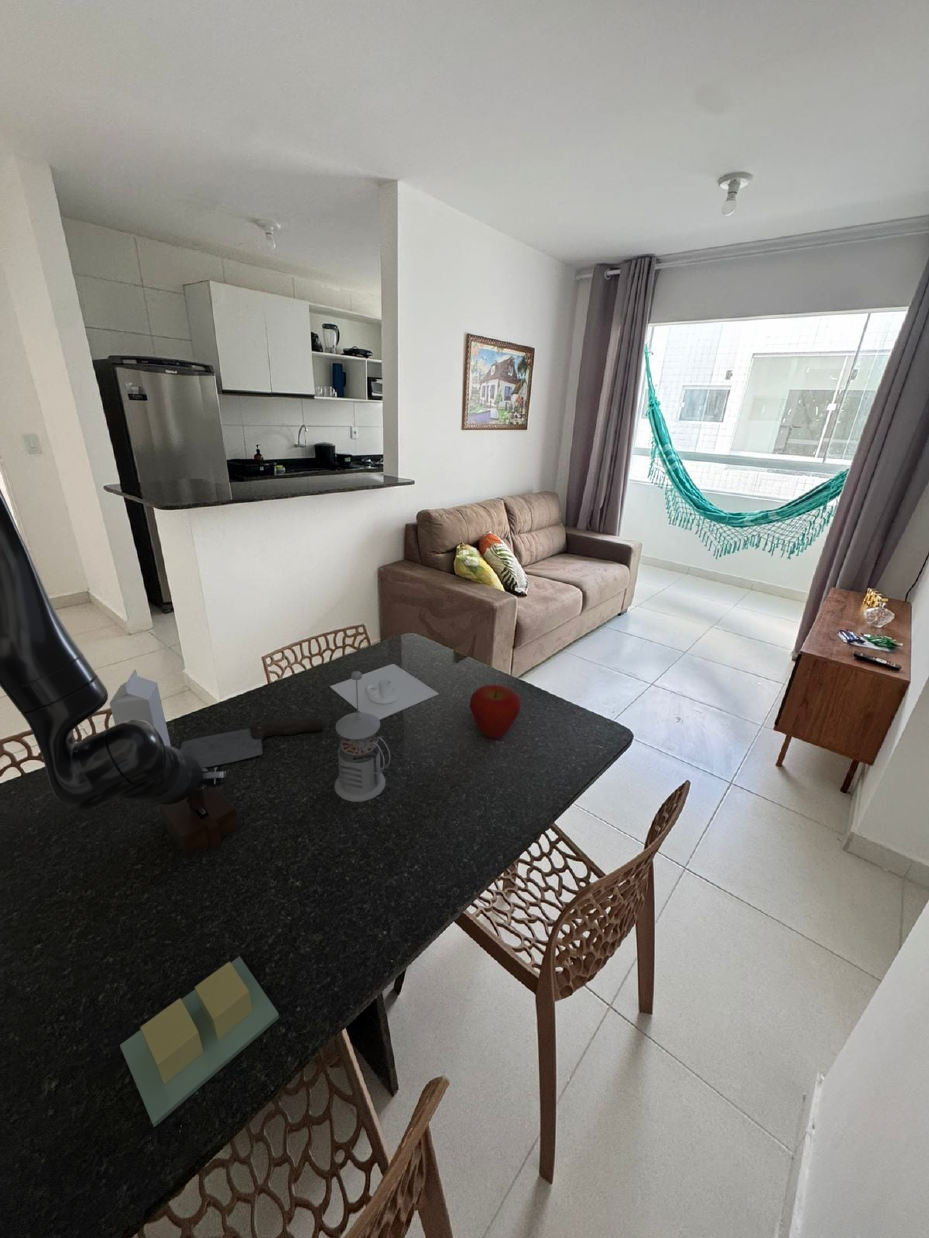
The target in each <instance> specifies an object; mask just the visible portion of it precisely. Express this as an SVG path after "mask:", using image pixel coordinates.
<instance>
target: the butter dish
mask: <svg viewBox="0 0 929 1238" xmlns="http://www.w3.org/2000/svg"><path fill="white" fill-rule="evenodd" d="M279 1019H280V1014H279V1012H278V1010H277V1009H276V1008H275V1006H274V1004H273V1003H272V1001H271V999H270V998H269V997H268V996H267V994H266V993H265V991H264V990H263V988H262V987H261V985H260V984H259V983H258V981H257V979H256V977H254V975H253V974H252V972H251V970H250V969H249V967H248V966H247V964H245V962H244V961H243V959H242V957H241V956H238V957H236V958H235V959H234V960H233V961H227V962H226V963H225V964H223V965H222V966H221V967H220V968H218V969H216V971H214V972H213V973H211V974H210V975H209V976H207V977H206V978H204V979H203V980H202V981H201V982H199V983H198V984H197V985H195V986H194V989H193V990H192V991H190V992H189V993H188V994H186V995H185V996H184V997H182V998H180V997H179V998H178V999H176V1000H175V1001H173V1002H172V1003H171V1004H169V1005H168V1006H167V1007H166V1008H164V1009H163V1010H162V1011H160V1012H158V1013H157V1014H156V1015H154V1016H153V1017H152V1018H150V1019H149V1020H148V1021H147V1022H145V1023H144V1024H142V1025H141V1026H140V1028H139V1030H137V1032H135V1033H134V1034H133V1035H131V1036H130V1037H129V1038H127V1039H126V1040H125V1041H123V1042H122V1043H120V1044H119V1047H120V1050H121V1052H122V1055H123V1057H124V1059H125V1062H126V1064H127V1066H128V1069H129V1072H130V1074H131V1076H132V1079H133V1081H134V1083H135V1085H136V1088H137V1090H138V1093H139V1095H140V1098H141V1100H142V1102H143V1105H144V1107H145V1110H146V1112H147V1115H148V1117H149V1119H150V1122H151V1124H152V1127H153V1128H155V1127H157V1126H158V1125H159V1124H160V1123H161V1122H163V1121H164V1120H165V1119H166V1118H167V1117H169V1115H171V1113H173V1112H174V1111H175V1110H176V1109H177V1108H178V1107H180V1106H181V1105H182V1104H183V1103H184V1102H185V1101H186V1100H188V1099H189V1098H190V1097H192V1095H193V1094H195V1093H196V1091H198V1090H199V1089H201V1087H202V1086H203V1085H204V1084H206V1083H207V1082H208V1081H209V1080H210V1079H212V1077H214V1076H215V1075H217V1073H218V1072H220V1071H221V1069H223V1068H224V1067H225V1066H227V1065H228V1063H230V1062H231V1061H232V1060H233V1059H234V1058H235V1057H237V1056H238V1055H239V1054H240V1053H241V1052H242V1051H244V1049H245V1048H247V1047H248V1046H249V1045H250V1044H251V1043H253V1042H254V1041H255V1040H256V1039H257V1038H258V1037H260V1035H262V1034H263V1033H264V1032H265V1031H266V1030H267V1029H268V1028H270V1027H271V1026H272V1025H273V1024H274V1023H276V1022H277V1020H279Z"/></svg>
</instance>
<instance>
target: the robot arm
mask: <svg viewBox="0 0 929 1238" xmlns="http://www.w3.org/2000/svg"><path fill="white" fill-rule="evenodd" d="M0 689H2V691H3V692H4V693H5V694H6V696H7V697H8V698H9V700H10V701H11V703H13V705H14V706H15V708H16V709H17V711H18V712H20V714H21V716H22V717H23V718H24V719H25V721H26V723H27V724H28V726H29V728H30V730H31V732H32V734H33V736H34V739H35V741H36V743H37V746H38V749H39V751H40V754H41V758H42V760H43V764H44V767H45V771H46V775H47V779H48V782H49V785H50V787H51V790H52V794H54V796H55V798H56V799H57V800H58V801H59V802H60V803H62V804H63V805H65V806H67V807H69V808H71V809H75V810H81V811H83V810H84V811H85V810H91V809H93V808H96V807H98V806H100V805H102V804H104V803H106V802H108V801H110V800H111V799H113V798H115V797H120V798H123V799H126V800H133V801H139V802H141V803H144V804H145V803H146V804H154V805H156V804H157V805H165V804H175V803H178V802H180V801H182V800H184V799H186V798H187V797H188V796H190V795H191V794H192V793H193V791H196V790H202V789H208V788H209V786H210V787H219V786H221V785H225V784H226V783H227V773H228V772H227V771H228V766H227V765H220V766H217V767H214V768H213V769H212V770H210V771H209V769H208V768H207V767H205V768H202V767H200V765H199V763H198V762H197V760H196V759H195V758H194V757H193V756H192V755H190V754H189V753H186V752H184V751H181V750H180V748H176V747H173V746H172V745H171V746H167V745H164V743H163V740H162V738H161V736H160V734H159V733H158V731H157V730H156V729H155V728H154V726H153V725H151V724H150V723H149V722H147V721H144V720H138V719H137V720H127V721H124V722H121V723H119V724H116V725H115V724H114V725H112V726H110V727H108V728H107V729H106V728H105V729H104V730H102V731H100V732H98V733H95V734H94V735H91V736H88V737H87V738H85V739H83V740H81V741H77V739H76V737H75V735H74V730H75V729H76V728H77V727H78V726H79V725H80V724H82V723H83V722H84V721H86V720H88V719H89V718H90V717H91V716H93V715H95V714H96V713H97V712H98V711H100V710H101V709H102V708H103V707H104V706H105V705H106V703H107V702H108V699H109V693H108V690H107V687H106V685H105V684H104V683H103V681H102V680H101V678H100V676H99V675H98V674H97V672H96V671H95V669H94V668H93V667H92V665H91V663H90V662H89V660H88V659H87V657H86V655H85V654H84V653H83V651H82V650H81V648H80V647H79V646H78V644H77V643H76V642H75V640H74V638H73V637H72V635H71V633H70V632H69V631H68V629H67V627H66V626H65V623H63V620H62V619H61V617H60V615H59V614H58V612H57V610H56V608H55V607H54V604H53V603H52V600H51V599H50V596H49V595H48V593H47V590H46V588H45V586H44V584H43V582H42V579H41V577H40V574H39V573H38V570H37V568H36V566H35V564H34V561H33V559H32V556H31V554H30V552H29V549H28V548H27V545H26V543H25V542H24V539H23V536H22V535H21V532H20V531H19V529H18V526H17V523H16V522H15V519H14V516H13V515H12V512H11V509H10V507H9V505H8V503H7V500H6V498H5V496H4V493H3V492H2V490H1V488H0Z"/></svg>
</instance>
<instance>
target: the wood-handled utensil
mask: <svg viewBox="0 0 929 1238" xmlns="http://www.w3.org/2000/svg"><path fill="white" fill-rule="evenodd" d="M187 798H188V803H189V807H190V809H191V810H194V811H195V812H196V813H197V815H198V816H199V817H200V818H201V820H202V819H204V818H205V817H207V816H206V812H205V811H204V810H203V807H204V805H205V798H204V793H203V789H202V790H196V791H193V793H192V794H191V795H190V796H188V797H187Z"/></svg>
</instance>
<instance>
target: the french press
mask: <svg viewBox="0 0 929 1238" xmlns="http://www.w3.org/2000/svg"><path fill="white" fill-rule="evenodd" d="M362 675H363V674H362V672H361V671H359V670H354V671H353V672H351V675H350V677H351V678H350V679H353V680H356V695H357V709H356V712H351V713H348V714H346V715H344V716H342V717H341V718H340V719H339V720H338V721H337V722H336V724H335V730H336V733H337V735H339V736H340V737H341V739H340V741H339V745H338V746H339V748H338V751H337V762H338V777H337V778H336V779H335V782H334V786H333V787H334V790H335V793H336V795H338V796H339V797H340V798H341V799H343V800H346V801H349V802H365V801H366V802H367V801H369V800H372V799H374V798H376V797H377V796H378V795H380V794H382V791H384V789H385V787H386V780H387V779H386V778H385V775H384V774H383V771H384V770H385V769H386V768H388V767H389V766H390V764H391V751H390V749H389V746H388V745H387V743H386V741H385V740H384V739H383V738H382V737H381V736H376V734H377V732H378V731H379V730H380V729H381V728H380V727H381V721H380V720H379V719H378V718H377V717H375V716H374V715H372V714H369V713H361V712H359V711H358V690H357V680H360V679H361V678H362ZM379 739H380V741H382V742H383V744H384V746H385V748H386V750H387V753H388V763H387V764H385V761H386V760H385V756H384V753H383V751H382V749H381V746H380V744H379ZM371 755H372V756H371ZM367 756H370V757H367ZM381 756H382V767H381ZM361 757H365V758H361ZM354 758H357V759H354ZM358 758H359V759H358Z"/></svg>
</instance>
